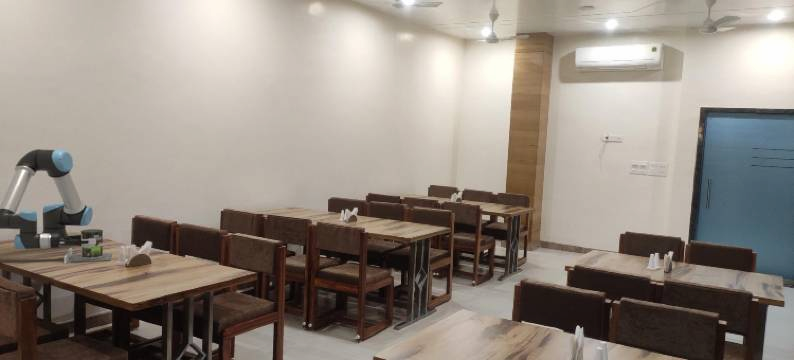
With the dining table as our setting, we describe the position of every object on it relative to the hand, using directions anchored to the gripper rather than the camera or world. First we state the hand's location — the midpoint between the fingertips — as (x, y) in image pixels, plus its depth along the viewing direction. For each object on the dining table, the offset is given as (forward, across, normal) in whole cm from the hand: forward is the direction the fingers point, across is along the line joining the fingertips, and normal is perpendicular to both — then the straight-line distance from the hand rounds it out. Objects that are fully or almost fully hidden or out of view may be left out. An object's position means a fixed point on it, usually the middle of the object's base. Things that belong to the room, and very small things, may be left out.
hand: (97, 239), depth 307 cm
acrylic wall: (-13, 0, -10) cm, 17 cm away
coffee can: (-2, 0, -10) cm, 10 cm away
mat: (-2, 0, -10) cm, 10 cm away
